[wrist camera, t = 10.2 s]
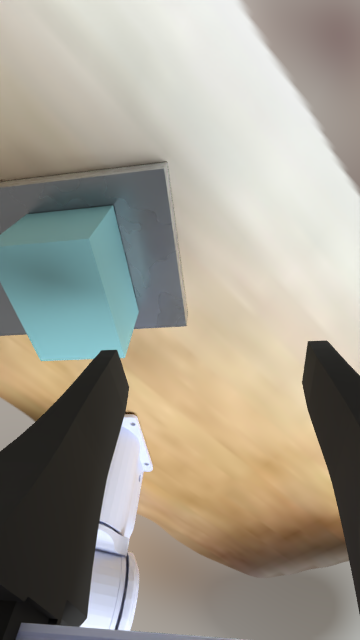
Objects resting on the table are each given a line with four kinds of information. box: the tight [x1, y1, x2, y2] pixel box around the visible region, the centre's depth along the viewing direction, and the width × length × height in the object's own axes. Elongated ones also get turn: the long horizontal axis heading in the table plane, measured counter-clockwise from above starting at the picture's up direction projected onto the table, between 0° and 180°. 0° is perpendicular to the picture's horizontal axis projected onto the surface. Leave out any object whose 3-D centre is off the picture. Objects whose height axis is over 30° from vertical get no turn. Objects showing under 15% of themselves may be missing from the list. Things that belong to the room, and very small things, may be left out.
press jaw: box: [0, 205, 139, 361], centre depth 18 cm, size 7×5×4 cm
